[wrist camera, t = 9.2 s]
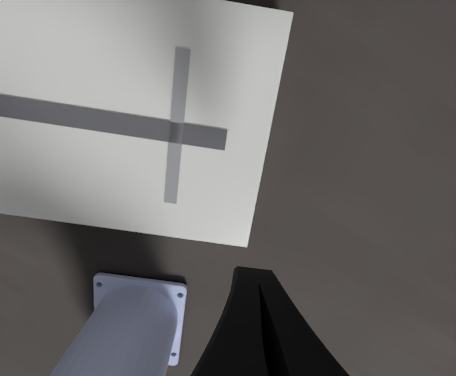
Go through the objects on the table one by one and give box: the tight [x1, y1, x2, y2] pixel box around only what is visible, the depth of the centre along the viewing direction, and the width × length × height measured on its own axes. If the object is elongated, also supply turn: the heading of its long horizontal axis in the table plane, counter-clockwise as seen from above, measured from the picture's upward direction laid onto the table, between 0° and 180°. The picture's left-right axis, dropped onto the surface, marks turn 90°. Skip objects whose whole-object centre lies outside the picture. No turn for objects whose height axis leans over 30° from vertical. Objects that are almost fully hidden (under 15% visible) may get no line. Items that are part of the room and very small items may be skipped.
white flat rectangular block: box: [0, 0, 294, 247], centre depth 15 cm, size 14×25×3 cm, turn 81°
